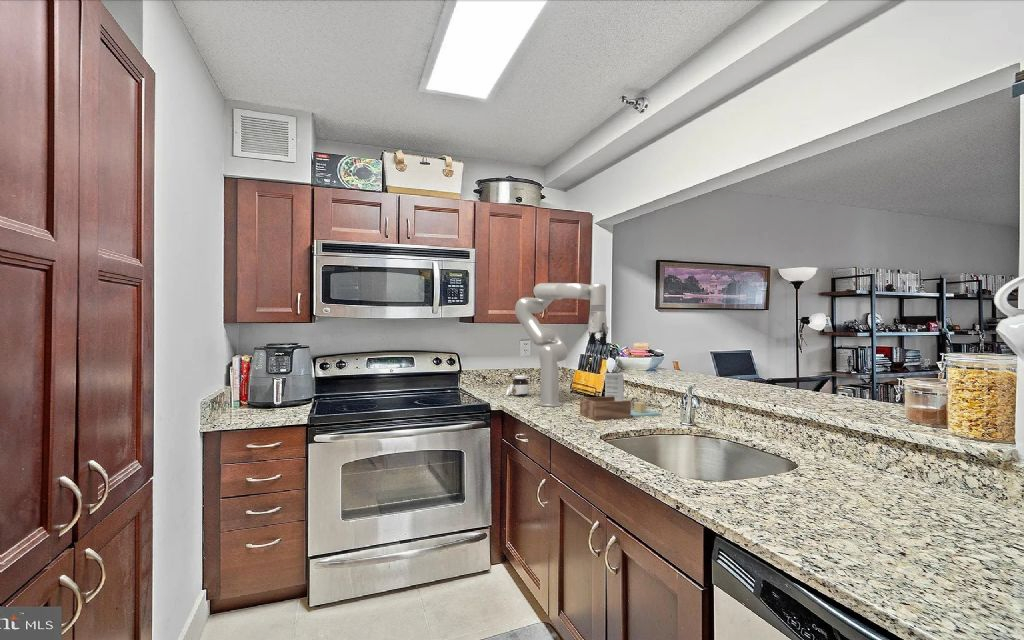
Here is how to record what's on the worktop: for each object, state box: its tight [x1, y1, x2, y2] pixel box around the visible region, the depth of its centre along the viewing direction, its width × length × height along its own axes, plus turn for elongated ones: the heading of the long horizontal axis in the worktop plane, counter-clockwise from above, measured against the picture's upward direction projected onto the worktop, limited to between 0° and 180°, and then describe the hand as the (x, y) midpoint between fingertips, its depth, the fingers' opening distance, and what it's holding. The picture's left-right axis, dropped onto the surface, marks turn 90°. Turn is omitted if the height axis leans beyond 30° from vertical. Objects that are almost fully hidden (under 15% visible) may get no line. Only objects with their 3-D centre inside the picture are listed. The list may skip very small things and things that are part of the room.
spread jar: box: [506, 374, 530, 398], centre depth 278 cm, size 12×11×12 cm
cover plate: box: [631, 401, 662, 418], centre depth 225 cm, size 11×16×6 cm
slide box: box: [579, 396, 632, 422], centre depth 218 cm, size 14×18×8 cm
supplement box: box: [604, 372, 625, 401], centre depth 245 cm, size 10×9×17 cm
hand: (597, 344), depth 230 cm, fingers open, 9 cm apart
